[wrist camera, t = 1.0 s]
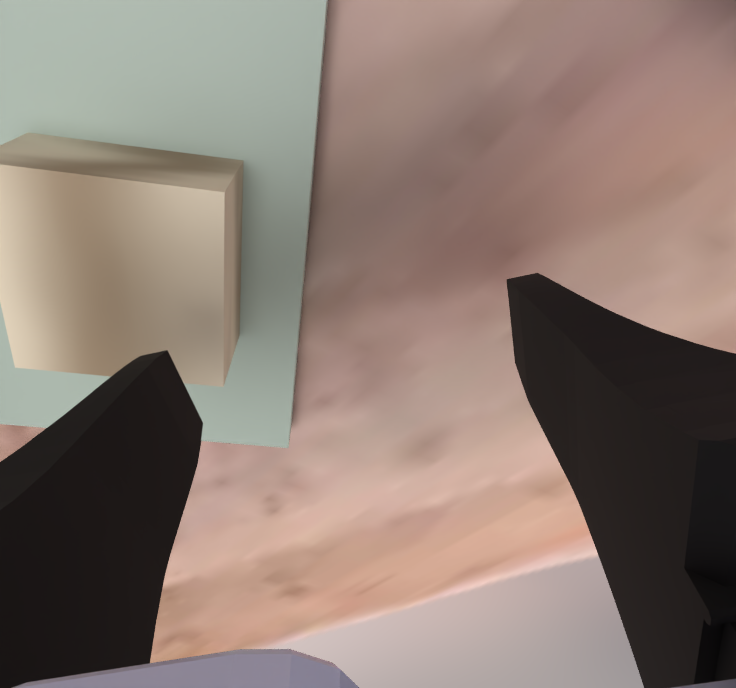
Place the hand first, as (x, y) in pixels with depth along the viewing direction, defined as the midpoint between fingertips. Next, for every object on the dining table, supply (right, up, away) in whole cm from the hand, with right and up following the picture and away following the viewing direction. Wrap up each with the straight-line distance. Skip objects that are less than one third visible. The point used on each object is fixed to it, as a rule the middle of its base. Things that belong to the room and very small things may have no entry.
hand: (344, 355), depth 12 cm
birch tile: (-7, +3, +6) cm, 9 cm away
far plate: (-7, +4, +7) cm, 11 cm away
